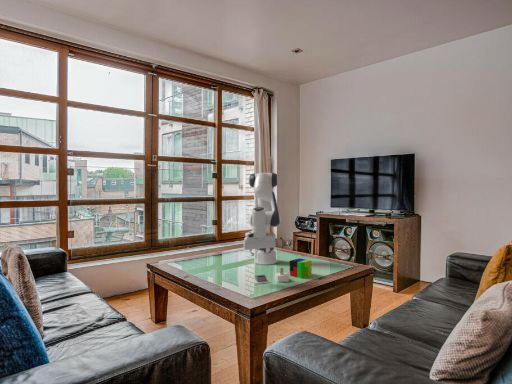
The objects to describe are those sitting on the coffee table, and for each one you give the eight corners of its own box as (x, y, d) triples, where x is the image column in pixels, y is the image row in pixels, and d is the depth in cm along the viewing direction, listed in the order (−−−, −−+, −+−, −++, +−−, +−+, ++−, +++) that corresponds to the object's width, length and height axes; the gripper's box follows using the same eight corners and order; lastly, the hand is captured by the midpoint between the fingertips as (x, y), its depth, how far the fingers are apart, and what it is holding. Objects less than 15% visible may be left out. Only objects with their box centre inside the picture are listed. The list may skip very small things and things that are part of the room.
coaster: (251, 279, 212) (251, 278, 212) (266, 278, 214) (266, 277, 214) (254, 284, 203) (254, 283, 203) (270, 282, 205) (270, 281, 204)
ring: (255, 279, 211) (255, 275, 211) (264, 278, 212) (264, 274, 212) (257, 282, 205) (257, 278, 205) (266, 281, 206) (266, 277, 206)
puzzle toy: (300, 272, 226) (299, 258, 226) (311, 275, 218) (311, 260, 218) (290, 275, 219) (289, 260, 219) (301, 278, 212) (301, 263, 212)
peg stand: (274, 279, 212) (274, 266, 212) (285, 278, 213) (285, 266, 213) (277, 282, 205) (277, 269, 205) (288, 281, 206) (288, 268, 206)
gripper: (274, 231, 213) (274, 253, 214) (242, 233, 209) (243, 255, 210) (276, 233, 207) (277, 255, 208) (244, 235, 203) (245, 257, 203)
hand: (260, 255), depth 209 cm, fingers open, 8 cm apart
